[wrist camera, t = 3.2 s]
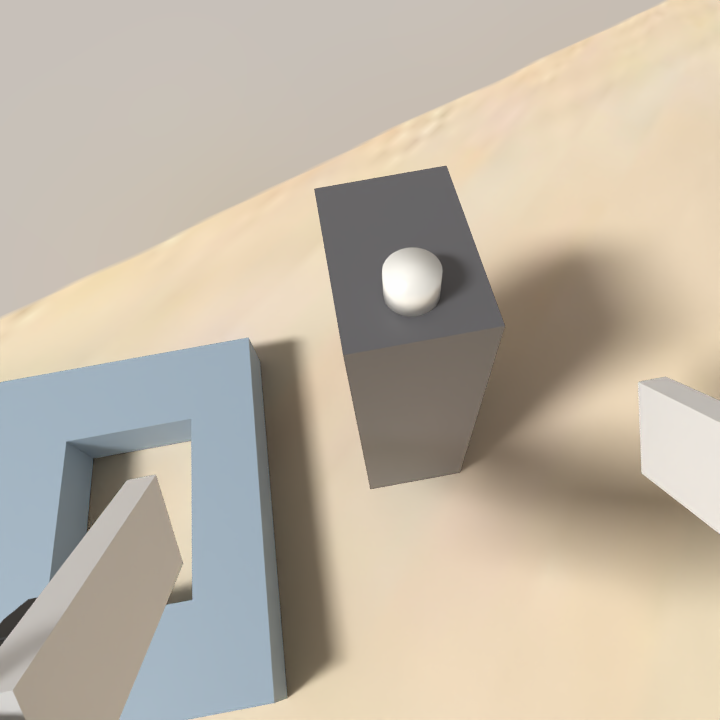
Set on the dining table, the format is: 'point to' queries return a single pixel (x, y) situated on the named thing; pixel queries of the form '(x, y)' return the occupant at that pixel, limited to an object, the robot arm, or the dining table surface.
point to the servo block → (409, 319)
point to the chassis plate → (209, 512)
